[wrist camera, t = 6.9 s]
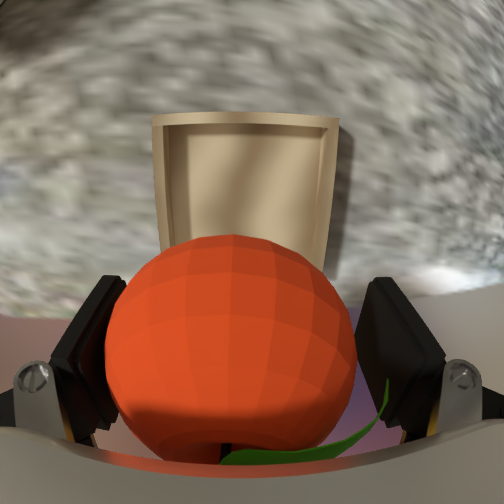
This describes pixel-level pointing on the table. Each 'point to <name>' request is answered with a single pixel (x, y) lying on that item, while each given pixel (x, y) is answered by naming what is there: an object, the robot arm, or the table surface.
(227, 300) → the clementine
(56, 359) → the robot arm
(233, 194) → the tray
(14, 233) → the table surface
